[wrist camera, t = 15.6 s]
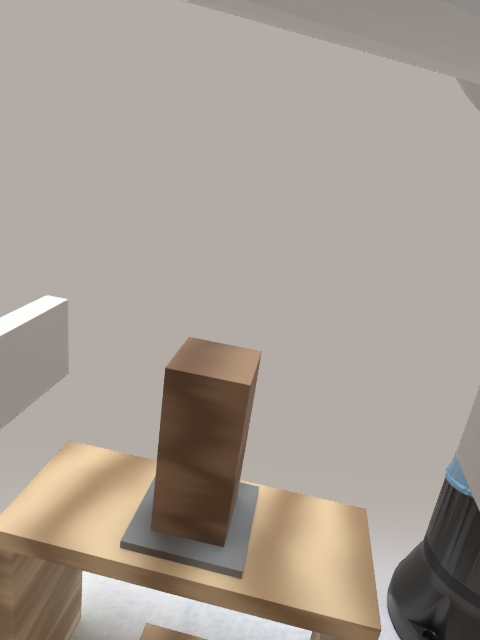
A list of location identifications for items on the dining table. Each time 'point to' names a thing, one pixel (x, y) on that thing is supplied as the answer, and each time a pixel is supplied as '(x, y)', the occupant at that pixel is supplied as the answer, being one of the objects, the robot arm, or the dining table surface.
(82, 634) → the dining table surface
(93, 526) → the wooden side table
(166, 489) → the walnut block
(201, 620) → the dining table surface
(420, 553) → the robot arm
